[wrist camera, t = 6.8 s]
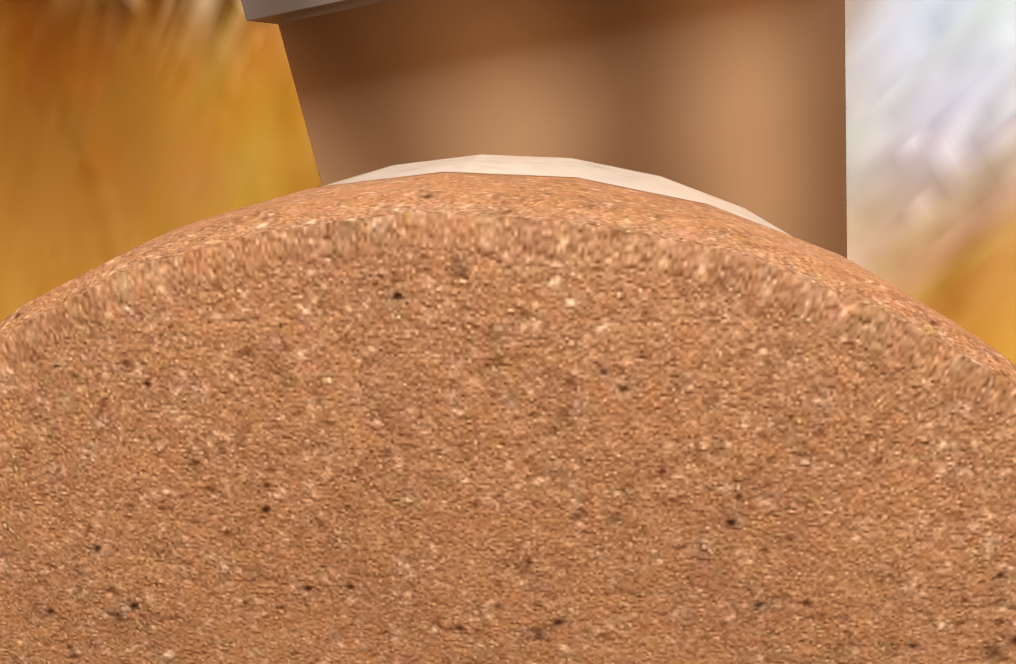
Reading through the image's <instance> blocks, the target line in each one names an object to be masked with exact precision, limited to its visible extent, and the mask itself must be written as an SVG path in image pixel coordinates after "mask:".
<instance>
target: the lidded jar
mask: <svg viewBox="0 0 1016 664" xmlns="http://www.w3.org/2000/svg"><path fill="white" fill-rule="evenodd" d="M0 664H1016V365H1015V364H1014V363H1012V362H1011V361H1010V360H1009V359H1008V358H1006V357H1005V356H1004V355H1002V354H1001V353H999V352H998V351H997V350H995V349H994V348H992V347H991V346H990V345H988V344H987V343H986V342H984V341H983V340H981V339H980V338H978V337H977V336H975V335H974V334H972V333H971V332H969V331H967V330H966V329H964V328H963V327H961V326H960V325H958V324H956V323H955V322H953V321H952V320H950V319H948V318H947V317H945V316H943V315H941V314H940V313H938V312H936V311H935V310H933V309H931V308H930V307H928V306H926V305H925V304H923V303H921V302H919V301H918V300H916V299H914V298H913V297H911V296H909V295H908V294H906V293H904V292H902V291H901V290H899V289H897V288H896V287H894V286H892V285H891V284H889V283H887V282H885V281H884V280H882V279H880V278H879V277H877V276H875V275H874V274H872V273H870V272H868V271H867V270H865V269H863V268H862V267H860V266H858V265H857V264H855V263H853V262H851V261H850V260H848V259H846V258H845V257H843V256H841V255H839V254H837V253H834V252H832V251H830V250H827V249H824V248H822V247H819V246H816V245H814V244H811V243H809V242H806V241H803V240H801V239H798V238H795V237H793V236H791V235H789V234H788V233H786V232H784V231H783V230H781V229H779V228H777V227H776V226H774V225H772V224H771V223H769V222H767V221H765V220H764V219H762V218H760V217H759V216H757V215H755V214H754V213H752V212H750V211H748V210H747V209H745V208H743V207H740V206H737V205H735V204H732V203H729V202H727V201H724V200H722V199H719V198H716V197H714V196H711V195H708V194H706V193H703V192H701V191H698V190H695V189H693V188H690V187H687V186H685V185H682V184H680V183H677V182H674V181H672V180H669V179H666V178H664V177H661V176H657V175H652V174H647V173H642V172H637V171H632V170H627V169H622V168H617V167H612V166H608V165H603V164H598V163H593V162H588V161H583V160H578V159H573V158H556V157H531V156H507V155H483V154H480V155H472V156H464V157H456V158H448V159H439V160H431V161H423V162H415V163H407V164H399V165H392V166H389V167H385V168H382V169H379V170H375V171H372V172H368V173H365V174H362V175H358V176H355V177H352V178H348V179H345V180H341V181H338V182H335V183H331V184H328V185H324V186H320V187H314V188H309V189H305V190H302V191H299V192H295V193H292V194H288V195H285V196H282V197H278V198H275V199H272V200H268V201H265V202H261V203H258V204H255V205H251V206H248V207H245V208H241V209H238V210H234V211H231V212H228V213H224V214H221V215H218V216H214V217H211V218H207V219H204V220H201V221H197V222H194V223H191V224H188V225H185V226H183V227H180V228H178V229H175V230H172V231H170V232H167V233H165V234H162V235H160V236H158V237H156V238H154V239H152V240H150V241H148V242H146V243H143V244H141V245H139V246H137V247H135V248H133V249H131V250H129V251H127V252H125V253H123V254H121V255H119V256H117V257H115V258H114V259H112V260H110V261H108V262H106V263H104V264H102V265H100V266H98V267H96V268H94V269H92V270H90V271H88V272H86V273H84V274H82V275H80V276H78V277H76V278H74V279H72V280H70V281H68V282H66V283H64V284H63V285H61V286H59V287H57V288H55V289H53V290H51V291H49V292H47V293H45V294H43V295H41V296H39V297H37V298H35V299H33V300H31V301H29V302H27V303H25V304H24V305H22V306H21V307H20V308H19V309H17V310H16V311H15V312H14V313H12V314H11V315H10V316H9V317H7V318H6V319H5V320H4V321H2V322H1V323H0Z"/></svg>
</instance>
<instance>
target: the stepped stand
mask: <svg viewBox="0 0 1016 664" xmlns="http://www.w3.org/2000/svg"><path fill="white" fill-rule="evenodd" d="M241 2H242V5H243V9H244V12H245V16H246V19H247V21H255V22H264V23H273V24H279V28H280V32H281V35H282V39H283V43H284V46H285V50H286V54H287V57H288V61H289V65H290V69H291V72H292V76H293V80H294V83H295V87H296V91H297V94H298V98H299V102H300V105H301V109H302V113H303V116H304V120H305V124H306V127H307V131H308V135H309V138H310V142H311V146H312V149H313V153H314V157H315V160H316V164H317V168H318V171H319V175H320V179H321V182H322V186H324V185H328V184H331V183H335V182H338V181H341V180H345V179H348V178H352V177H355V176H358V175H362V174H365V173H368V172H372V171H375V170H379V169H382V168H385V167H389V166H392V165H399V164H407V163H415V162H423V161H431V160H439V159H448V158H456V157H464V156H472V155H480V154H483V155H507V156H531V157H556V158H573V159H578V160H583V161H588V162H593V163H598V164H603V165H608V166H612V167H617V168H622V169H627V170H632V171H637V172H642V173H647V174H652V175H657V176H661V177H664V178H666V179H669V180H672V181H674V182H677V183H680V184H682V185H685V186H687V187H690V188H693V189H695V190H698V191H701V192H703V193H706V194H708V195H711V196H714V197H716V198H719V199H722V200H724V201H727V202H729V203H732V204H735V205H737V206H740V207H743V208H745V209H747V210H748V211H750V212H752V213H754V214H755V215H757V216H759V217H760V218H762V219H764V220H765V221H767V222H769V223H771V224H772V225H774V226H776V227H777V228H779V229H781V230H783V231H784V232H786V233H788V234H789V235H791V236H793V237H795V238H798V239H801V240H803V241H806V242H809V243H811V244H814V245H816V246H819V247H822V248H824V249H827V250H830V251H832V252H834V253H837V254H839V255H841V256H843V257H845V258H846V259H847V216H846V100H845V0H241Z"/></svg>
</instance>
